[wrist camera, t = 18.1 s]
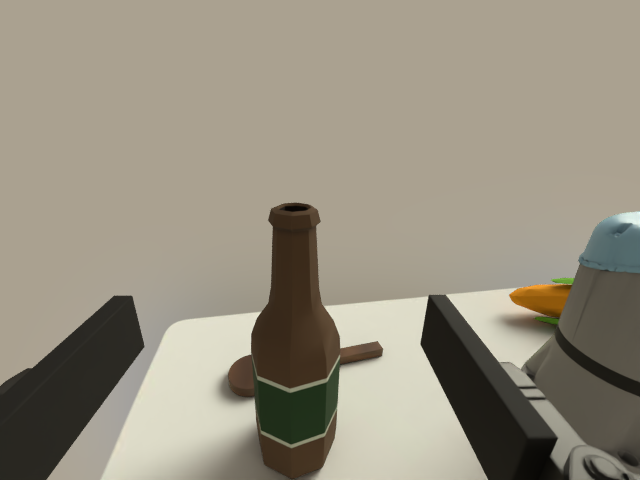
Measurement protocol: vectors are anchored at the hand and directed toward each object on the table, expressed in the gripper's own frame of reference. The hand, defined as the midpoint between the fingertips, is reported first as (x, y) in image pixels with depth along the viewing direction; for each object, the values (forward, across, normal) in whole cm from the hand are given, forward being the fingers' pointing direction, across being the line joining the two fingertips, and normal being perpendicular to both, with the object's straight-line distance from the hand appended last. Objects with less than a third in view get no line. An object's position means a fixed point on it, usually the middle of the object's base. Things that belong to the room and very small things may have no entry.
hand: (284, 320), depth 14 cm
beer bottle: (+10, 0, -22) cm, 24 cm away
